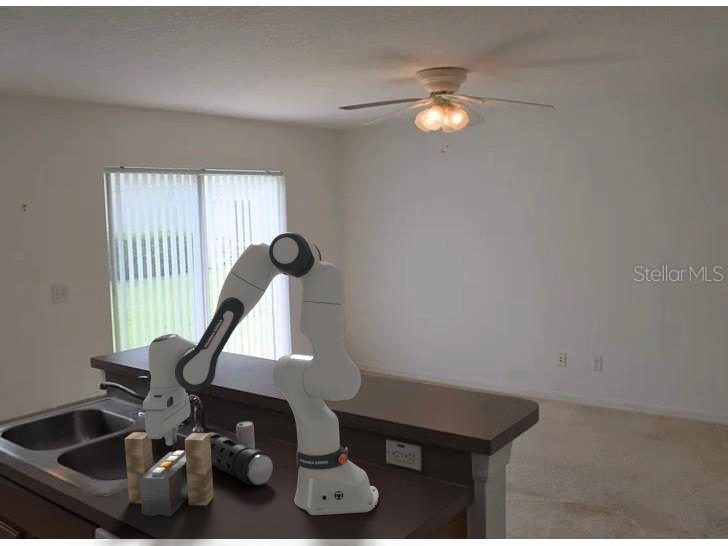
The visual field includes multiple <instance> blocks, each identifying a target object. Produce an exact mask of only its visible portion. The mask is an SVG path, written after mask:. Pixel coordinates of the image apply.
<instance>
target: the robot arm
mask: <svg viewBox="0 0 728 546" xmlns="http://www.w3.org/2000/svg"><path fill="white" fill-rule="evenodd" d="M281 274H282V275H285V276H290V277H293V278H298V279H299V280H300V283H301V285H302V286H301V289H302V290H301V291H302V293H301V302H300V304H301V306H300V314H299V325H298V328H299V332H300V334H301V336H302V337H304V338H305V339H306V341H308V342H309V344H310V346H311V348H312V355H311V354H302V353H294V354H288V355H282V356H280V357H279V358H278V359H277V360H276V362H275V364H274V365H273V368H272V372H271V373H272V377H271V378H272V382H273V385H274V386H275V388H276V389H278V390H279V392H280V393H281V394H283V396H284V398H285V399H286V400H287V402H288V404H289V407H290V408H291V411H292V413H293V416H294V420H295V426H296V434H297V437H296V438H297V449H296V455H295V456H296V466H297V467H296V468H297V471H298V473H297V485H296V492H295V496H294V504H295V505H296V506H297V507H298V508H300V509H303V510H305V511H306V512H307V513H308V514H309V515H310V516H322V515H340V514H357V513H360V514H361V513H368V512H370V511H372V510H374V508H375V507H376V506H377V504H378V502H379V499H378V498H380V497H379V491H378V489H377V487H376V486H374V485H370V479H369V477H368V474H367V472H366V470H363V469H362V468H360V467H359V466H358V465H356V464H355V463H354V462H352V461H350V460H349V458H348V446H346V447H343V446H342V445H341V444H340V430H339V429H340V425H339V419H338V416H337V415H336V414H335V412H334V411H333V410H332V409H330V408H329V407H328V405H327V404H326V403H325V401H332V402H335V401H345V400H351V399H353V398H354V397H355V396H356V395H357V393H358V391H359V389H360V388H361V387H360V386H361V385H362V376H361V371H360V369H359V367H358V366H357V364H356V363H355V362H354V361H353V360H352V359H351V357H350V356H349V355H348V353H347V350H346V347H345V345H344V341H343V337H342V335H343V334H342V328H343V327H342V323H343V321H342V320H343V319H342V318H343V303H344V282H343V273H342V271H341V269H340V267H338V265H336V264H334V263H332V262H327V261H322V254H321V251H320V250H319V247H318V246H317V245H315V244H314V243H313V242H312V241H311V240H310V239H309V238H307V237H306V236H303V235H302V234H299V233H297V232H293V231H289V232H283V233H279V234H278V235H276V237H275V238H273V240H272V241H271V243H270V244H267V243H265V242H260V241H259V242H258V241H257V242H253V243H250V244H249V245H248V246H247V247H246V249H244V250H243V252H242V253H241V255H240V256H239V257H238V258H237V260H236V261H235V262H234V264H233V266H232V267H231V268H230V270H229V272H228V274H227V276H226V277H225V280H224V282H223V284H222V287H221V290H220V292H219V296H218V301H217V305H216V308H215V311H214V313H213V316H212V319H211V320H210V321H209V324H208V325H207V328H206V329H205V331H204V332H203V334H202V336H201V337H200V339H199V341H198V342H194V341H191V340H188V339H185V338H184V337H182V336H180V334H176V333H170V334H164V335H160V336H158V337H156V338H155V339H153V340H152V341H151V342H150V343H149V348H148V370H149V373H150V377H151V378H150V383H149V384H150V385H149V386H150V387H149V388H150V389H149V391H148V394H147V396H146V397H145V399H144V400H143V402H142V409H143V410H145V412H144V425H145V427H144V428H145V432H146V434H147V436H148V438H149V439H151V440H160V439H162V438H164V440H165V444H166V446H172V445H174V443H176V442H177V439H178V438H177V434H178V430H179V425H180V424H181V423H182V422H183V423H184V421H185V420H186V419H187V418H189V417H190V416H191V403H190V397H189V394H188V392H186V390H187V391H189V392H200V391H201V392H202V391H203V390H205V389H207V388H209V387H210V386H211V385H212V383H213V382H214V379H215V376H216V370H217V367H218V364H219V357H220V355H221V353H222V352H223V350H224V348H225V347H226V345H227V343H228V341H229V339H230V338H231V336H232V334H233V333H234V331H235V329H236V328H237V327H238V326H239V325H240V323H241V322H242V321H243V320H244V319H245V318H246V317H247V316H248V314H249V313H250V312H251V311H252V310H253V309H254V308H255V307H256V305H258V303H259V302H260V301H261V299H262V298H263V296H264V295H265V293H266V291H267V290H268V288H269V286H270V284H271V283H272V281H273V280H274V279H275V277H277V276H278V275H281ZM324 400H325V401H324ZM375 505H376V506H375Z"/></svg>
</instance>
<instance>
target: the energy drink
mask: <svg viewBox="0 0 728 546" xmlns="http://www.w3.org/2000/svg"><path fill="white" fill-rule="evenodd" d="M254 427H255V425H254V422H253V421H247V420H246V421H240V422H238V423H237V424H236V426H235V428H236V430H235V431H236V442H239V443H241V444H243V445H246V446H248V447H250V448H255V449H256V444H255V443H256V442H255V441H256V440H255V428H254Z"/></svg>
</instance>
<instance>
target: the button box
mask: <svg viewBox="0 0 728 546" xmlns="http://www.w3.org/2000/svg"><path fill="white" fill-rule="evenodd" d="M139 480H140V494H141V503H140V504H141V515H142V514H154V515H153V516H156V515H164V516H163V517H172V516H173V514H175V513H176V512H177V510H179V508H180V507H181V506H182V505H183V504H184V503H185V502H186V500H187V499H188V484H187V469H186V453H185V450H176V451H169V452H168V453H167V454H166V455H165V456H163V457H162V458H161V459H159V461H158V462H156V463H155V464H153V467H152V468H150V469H149V470H148V471H147V472H146V473H145V474H143V475H142V476H141V477H140V478H139Z"/></svg>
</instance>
